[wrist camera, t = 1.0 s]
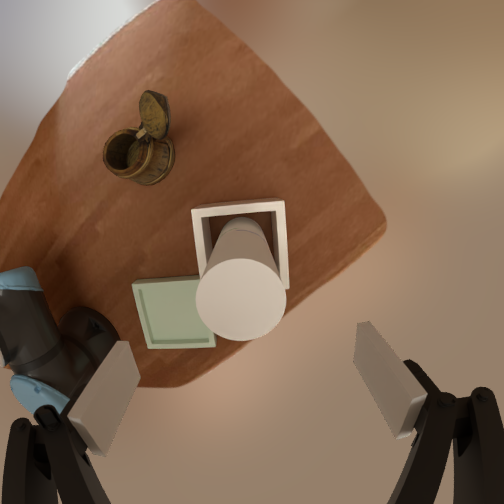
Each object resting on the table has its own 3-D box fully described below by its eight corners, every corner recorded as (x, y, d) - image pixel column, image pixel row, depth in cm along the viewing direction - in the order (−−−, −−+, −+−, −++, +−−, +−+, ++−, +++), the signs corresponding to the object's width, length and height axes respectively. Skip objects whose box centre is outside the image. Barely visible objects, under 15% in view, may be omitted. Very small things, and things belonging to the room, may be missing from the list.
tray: (151, 341, 51) (148, 348, 48) (136, 279, 47) (131, 284, 45) (216, 339, 51) (215, 346, 48) (206, 274, 47) (204, 279, 45)
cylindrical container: (262, 261, 47) (280, 342, 23) (219, 258, 47) (195, 337, 23) (265, 218, 45) (291, 261, 21) (221, 215, 45) (196, 255, 21)
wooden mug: (208, 149, 42) (187, 129, 25) (141, 195, 44) (86, 205, 26) (181, 106, 40) (147, 66, 23) (116, 153, 42) (55, 143, 24)
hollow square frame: (209, 277, 48) (202, 296, 40) (200, 204, 45) (191, 209, 37) (282, 271, 48) (289, 288, 40) (277, 197, 45) (284, 200, 37)
